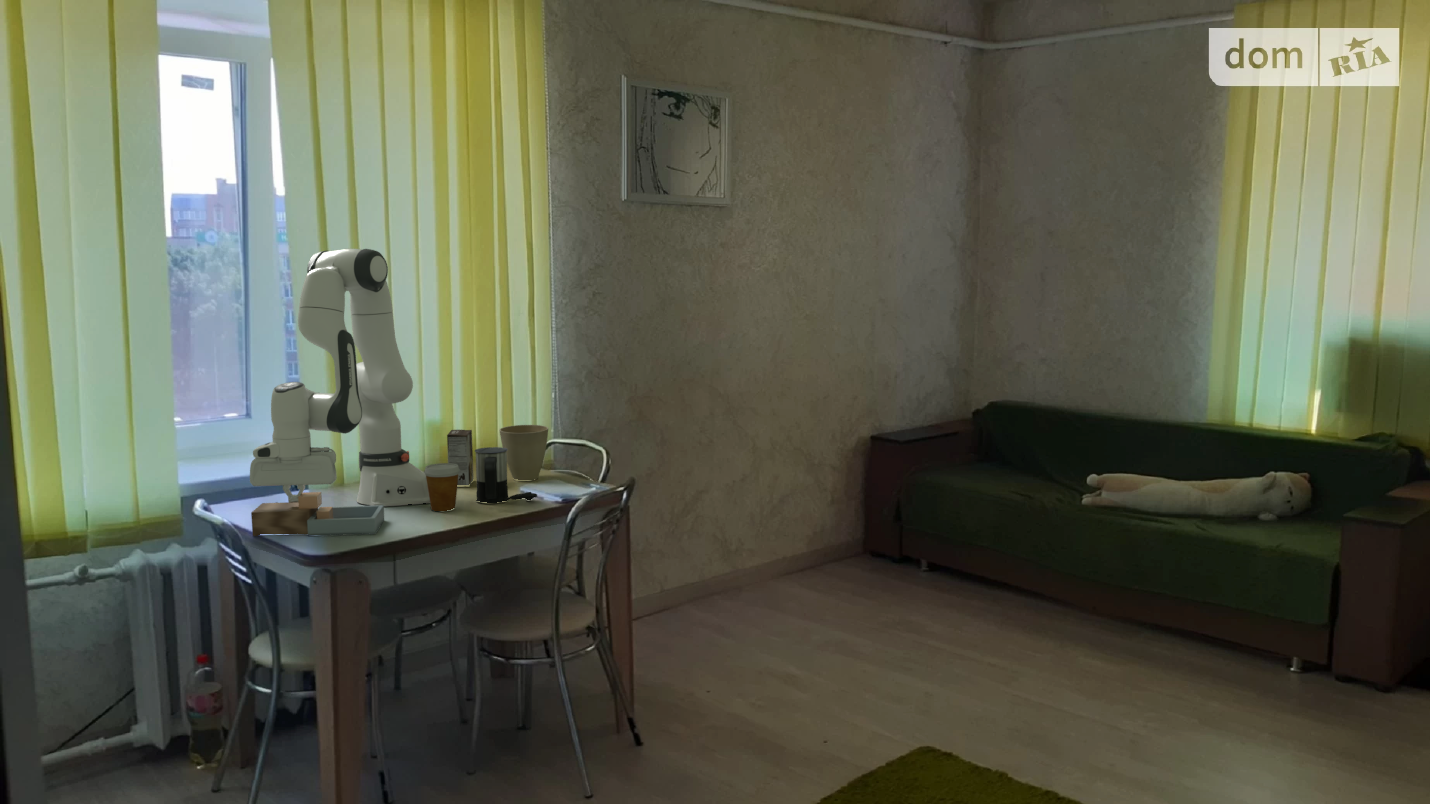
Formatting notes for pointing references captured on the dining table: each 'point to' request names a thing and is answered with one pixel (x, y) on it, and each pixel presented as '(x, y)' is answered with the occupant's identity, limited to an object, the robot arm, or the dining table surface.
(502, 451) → the milk frother
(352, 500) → the dining table surface
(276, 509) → the brown wooden box
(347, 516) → the box
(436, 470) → the disposable coffee cup
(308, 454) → the robot arm
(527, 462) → the plant pot
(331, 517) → the tile
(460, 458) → the coffee box
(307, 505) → the tile
